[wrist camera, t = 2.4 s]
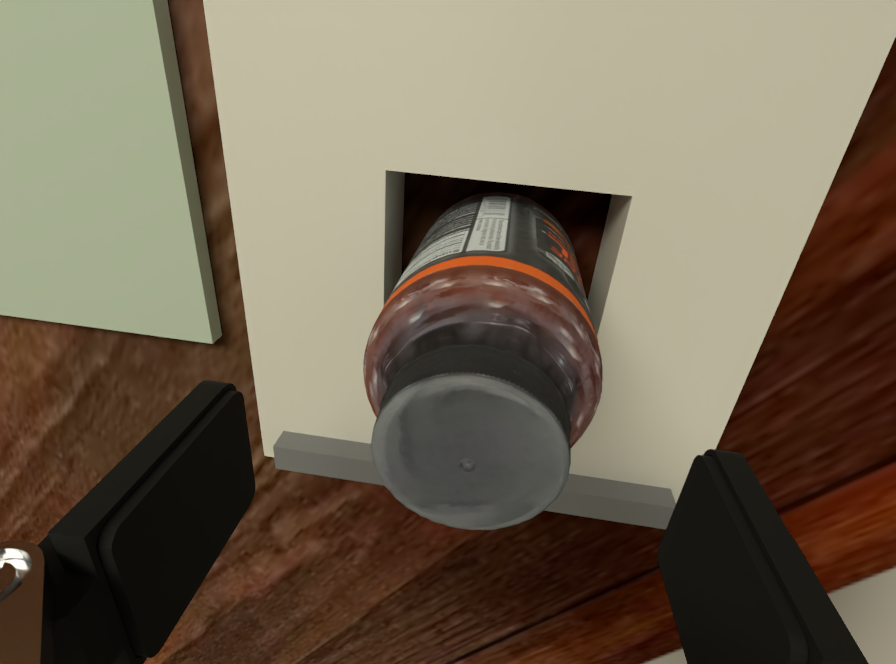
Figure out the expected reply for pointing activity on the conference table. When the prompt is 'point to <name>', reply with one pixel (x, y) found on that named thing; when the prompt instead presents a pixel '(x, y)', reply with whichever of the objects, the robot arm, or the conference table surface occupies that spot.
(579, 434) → the supplement bottle
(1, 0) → the sage mat
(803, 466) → the conference table surface
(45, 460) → the conference table surface
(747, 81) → the dispenser block
